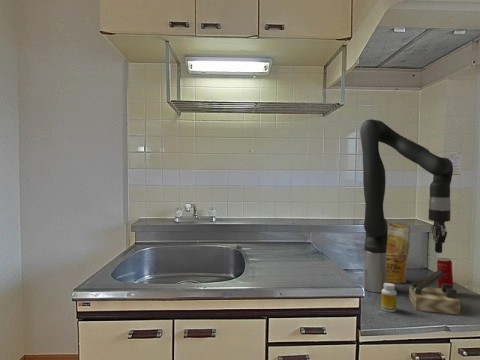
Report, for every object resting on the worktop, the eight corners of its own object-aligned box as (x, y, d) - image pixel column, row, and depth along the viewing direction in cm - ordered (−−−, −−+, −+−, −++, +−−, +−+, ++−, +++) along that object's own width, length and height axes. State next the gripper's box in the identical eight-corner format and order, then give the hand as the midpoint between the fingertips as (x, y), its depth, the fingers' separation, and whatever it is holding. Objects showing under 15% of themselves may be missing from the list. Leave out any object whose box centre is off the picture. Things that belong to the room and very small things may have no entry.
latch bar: (416, 293, 143) (414, 290, 144) (414, 289, 147) (412, 287, 147) (444, 274, 141) (442, 272, 141) (441, 272, 145) (439, 269, 145)
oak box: (415, 310, 139) (416, 289, 139) (409, 297, 153) (409, 278, 152) (459, 314, 135) (460, 293, 135) (448, 301, 149) (449, 281, 148)
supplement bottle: (394, 313, 136) (395, 287, 136) (379, 310, 139) (380, 285, 139) (397, 308, 141) (397, 283, 140) (382, 305, 143) (383, 281, 143)
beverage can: (455, 296, 155) (456, 261, 154) (438, 295, 156) (439, 260, 155) (450, 291, 160) (451, 257, 160) (434, 290, 162) (435, 256, 161)
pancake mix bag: (366, 276, 182) (367, 220, 181) (408, 281, 175) (409, 223, 174) (365, 279, 176) (366, 222, 175) (408, 285, 169) (410, 225, 167)
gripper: (424, 206, 150) (424, 248, 150) (433, 210, 137) (432, 255, 137) (445, 206, 148) (444, 249, 148) (455, 210, 135) (454, 257, 135)
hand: (438, 252), depth 143 cm, fingers closed
